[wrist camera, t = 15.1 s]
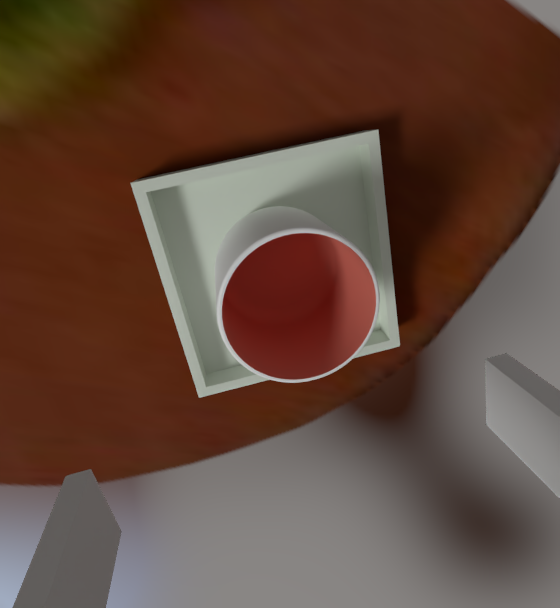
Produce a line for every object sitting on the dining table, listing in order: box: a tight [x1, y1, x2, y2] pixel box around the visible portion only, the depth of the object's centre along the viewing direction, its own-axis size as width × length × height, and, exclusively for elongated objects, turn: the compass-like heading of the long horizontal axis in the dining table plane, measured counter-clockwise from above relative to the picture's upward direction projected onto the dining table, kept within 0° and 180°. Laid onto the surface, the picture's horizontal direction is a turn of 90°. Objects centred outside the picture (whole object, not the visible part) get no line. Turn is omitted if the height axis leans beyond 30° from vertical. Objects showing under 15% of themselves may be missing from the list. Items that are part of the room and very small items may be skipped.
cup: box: [215, 206, 380, 383], centre depth 30 cm, size 10×10×10 cm
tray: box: [131, 130, 400, 398], centre depth 34 cm, size 18×18×3 cm
